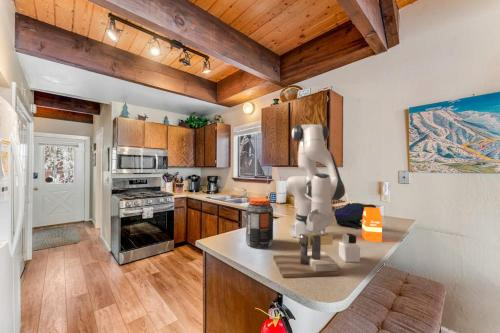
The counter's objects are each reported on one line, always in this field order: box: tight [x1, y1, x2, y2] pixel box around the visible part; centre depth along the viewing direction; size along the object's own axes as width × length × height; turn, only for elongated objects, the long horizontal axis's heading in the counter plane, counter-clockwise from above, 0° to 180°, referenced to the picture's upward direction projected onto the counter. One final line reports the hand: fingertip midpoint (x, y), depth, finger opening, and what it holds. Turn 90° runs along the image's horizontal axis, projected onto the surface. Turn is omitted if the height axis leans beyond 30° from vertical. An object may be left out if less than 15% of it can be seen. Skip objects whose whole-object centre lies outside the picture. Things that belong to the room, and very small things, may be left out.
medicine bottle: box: [338, 232, 361, 263], centre depth 105 cm, size 7×7×12 cm
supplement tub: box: [245, 197, 274, 249], centre depth 124 cm, size 16×16×26 cm
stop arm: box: [299, 233, 334, 246], centre depth 97 cm, size 14×4×4 cm, turn 95°
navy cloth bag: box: [334, 202, 377, 230], centre depth 162 cm, size 21×26×30 cm
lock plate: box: [272, 235, 341, 279], centre depth 96 cm, size 18×24×14 cm
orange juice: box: [361, 207, 383, 243], centre depth 135 cm, size 8×9×20 cm
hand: (320, 237), depth 101 cm, fingers closed
